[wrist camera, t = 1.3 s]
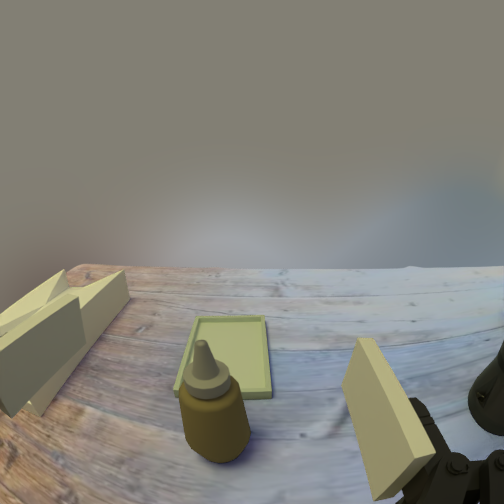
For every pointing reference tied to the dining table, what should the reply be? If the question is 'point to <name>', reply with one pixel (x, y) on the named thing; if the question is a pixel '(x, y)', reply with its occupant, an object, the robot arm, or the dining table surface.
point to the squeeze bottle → (212, 408)
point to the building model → (93, 317)
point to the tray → (234, 351)
